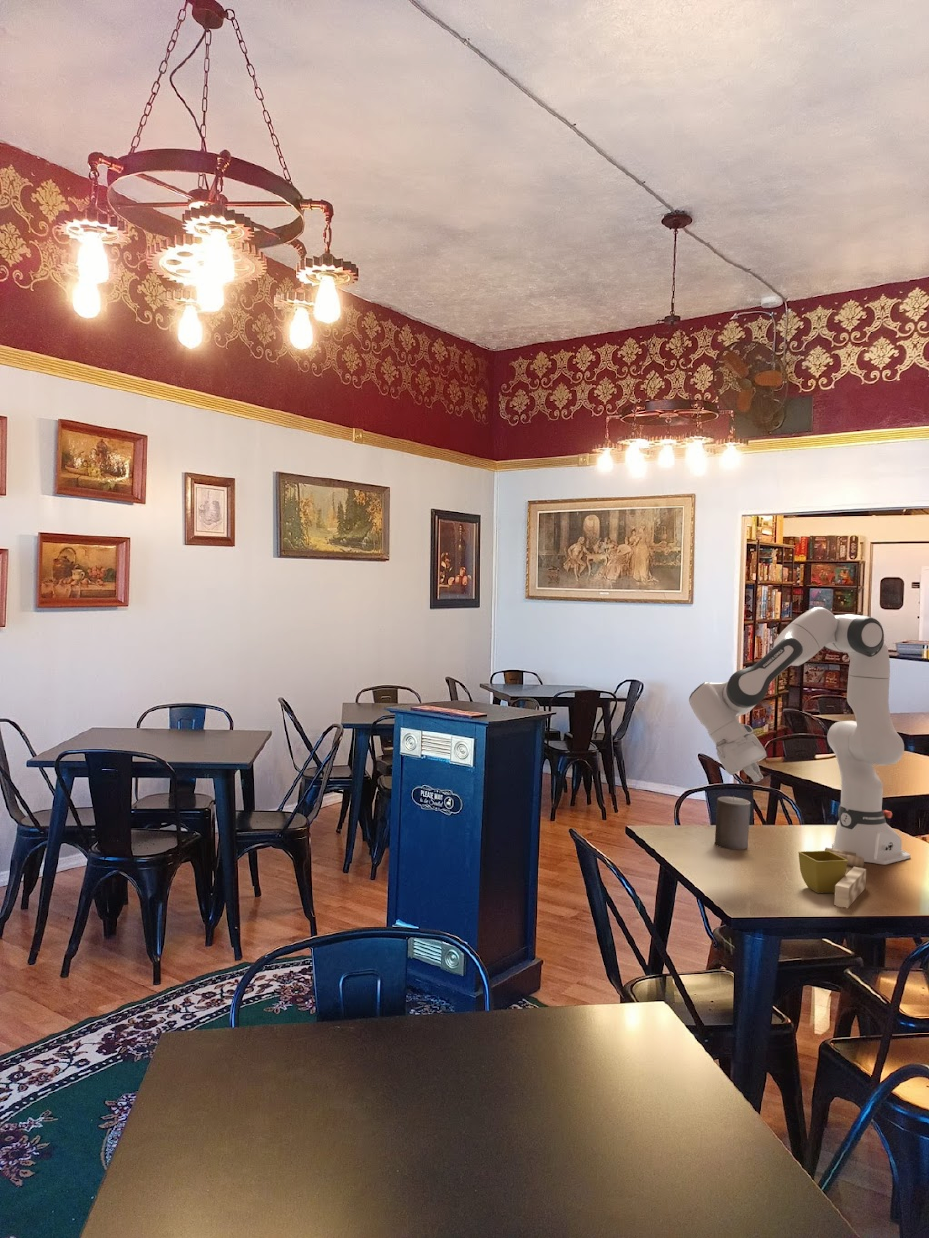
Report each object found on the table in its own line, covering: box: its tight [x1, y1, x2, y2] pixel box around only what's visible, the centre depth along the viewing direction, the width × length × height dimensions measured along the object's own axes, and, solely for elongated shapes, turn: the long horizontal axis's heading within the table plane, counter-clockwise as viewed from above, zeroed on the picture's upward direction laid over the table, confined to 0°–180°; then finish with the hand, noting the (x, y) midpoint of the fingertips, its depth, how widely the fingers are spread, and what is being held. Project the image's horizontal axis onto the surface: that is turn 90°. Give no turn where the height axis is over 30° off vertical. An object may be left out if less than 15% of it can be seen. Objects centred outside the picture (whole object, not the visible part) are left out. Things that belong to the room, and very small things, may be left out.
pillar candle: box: [714, 795, 751, 850], centre depth 266 cm, size 10×10×15 cm
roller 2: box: [833, 852, 865, 869], centre depth 250 cm, size 8×3×3 cm
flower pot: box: [798, 850, 848, 894], centre depth 227 cm, size 9×9×9 cm
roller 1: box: [824, 847, 856, 856], centre depth 255 cm, size 8×3×3 cm
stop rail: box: [834, 867, 867, 909], centre depth 223 cm, size 20×3×5 cm, turn 144°
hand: (759, 780), depth 240 cm, fingers closed
